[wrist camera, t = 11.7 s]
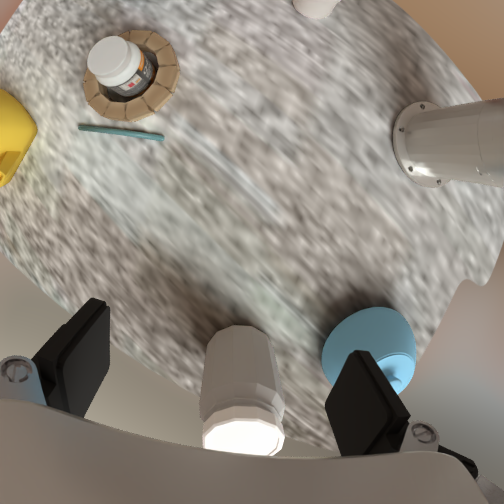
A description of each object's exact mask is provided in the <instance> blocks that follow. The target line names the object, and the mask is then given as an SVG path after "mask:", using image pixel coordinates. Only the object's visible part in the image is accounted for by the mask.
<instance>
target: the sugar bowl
mask: <svg viewBox="0 0 504 504" xmlns="http://www.w3.org/2000/svg"><path fill="white" fill-rule="evenodd" d="M354 350H364V351H369V352H370V353H371V355H372V357H373V358H374V360H375V361H376V363H377V364H378V366H379V367H380V369H381V370H382V372H383V373H384V375H385V376H386V378H387V379H388V381H389V382H390V384H391V386H392V387H393V389H394V390H395V392H396V393H397V394H399V393H400V392H401V391H402V390H403V389H404V388H405V387H406V386H407V385H408V383H409V382H410V380H411V378H412V376H413V373H414V369H415V364H416V342H415V338H414V334H413V332H412V329H411V327H410V325H409V324H408V322H407V321H406V319H405V318H404V317H403V316H402V315H401V314H400V313H399V312H397V311H395V310H393V309H390V308H386V307H372V308H367V309H364V310H360V311H358V312H356V313H354V314H352V315H350V316H349V317H347V318H346V319H344V320H343V321H342V322H341V323H339V324H338V325H337V326H336V327H335V329H334V330H333V331H332V332H331V334H330V335H329V337H328V338H327V340H326V342H325V345H324V348H323V351H322V360H321V363H322V368H323V371H324V374H325V376H326V378H327V379H328V381H329V382H330V383H331V384H332V386H334V384H335V382H336V380H337V378H338V376H339V374H340V372H341V370H342V368H343V365H344V363H345V361H346V359H347V357H348V355H349V354H350V353H352V352H353V351H354Z"/></svg>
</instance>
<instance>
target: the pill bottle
mask: <svg viewBox="0 0 504 504" xmlns="http://www.w3.org/2000/svg"><path fill="white" fill-rule="evenodd" d="M87 65H88V68H89V70H90V71H91V72H92V73H93V74H95V77H96V79H97V80H98V81H99V82H100V83H101V84H102V85H104V86H106V87H108V88H109V89H111V90H113V91H115V92H117V93H118V94H120V95H122V96H124V97H128V98H134V97H138V96H140V95H143V94H144V93H145V92H146V91H147V90H148V89H149V88H150V86H151V85H152V84H153V83H154V81H155V77H156V71H155V67H154V65H153V64H152V63H151V61H150V60H149V59H148V58H147V57H146V55H145V54H144V53H143V52H142V51H141V50H140V48H139V47H138V46H137V45H136V44H134V43H132V42H130V41H125V40H124V39H123V38H121V37H119V36H109V37H106V38H103V39H101V40H100V41H98V42H97V43H96V44H95V45H94V46H93V48H92V49H91V50H90V52H89V55H88V58H87Z"/></svg>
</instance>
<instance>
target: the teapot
mask: <svg viewBox="0 0 504 504" xmlns="http://www.w3.org/2000/svg"><path fill="white" fill-rule="evenodd" d="M36 134H37V126H36V124H35V122H34V121H33V119H32V118H31V116H30V115H29V113H28V112H27V111H26V109H25V108H24V107H23V106H22V105H21V104H20V103H19V102H18V101H17V100H16V99H15V98H14V97H13V96H11V95H10V94H9V93H7V92H6V91H4V90H2V89H0V187H2V186H4V185H6V184H7V183H9V182H10V181H11V179H12V177H13V176H14V174H15V172H16V170H17V169H18V167H19V165H20V163H21V161H22V160H23V158H24V156H25V154H26V152H27V151H28V149H29V147H30V145H31V143H32V142H33V140H34V138H35V136H36Z"/></svg>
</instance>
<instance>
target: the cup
mask: <svg viewBox="0 0 504 504" xmlns="http://www.w3.org/2000/svg"><path fill="white" fill-rule="evenodd" d="M339 1H341V0H293V5H294V7H295V9H296V10H297V11H298V12H299V13H301V14H302V15H303V16H305V17H308V18H310V19H323V18H325V17H328V16H329V15H330V14H331V12H332V10H333V8H334V7H335V5H336V4H337V3H338V2H339Z"/></svg>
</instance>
